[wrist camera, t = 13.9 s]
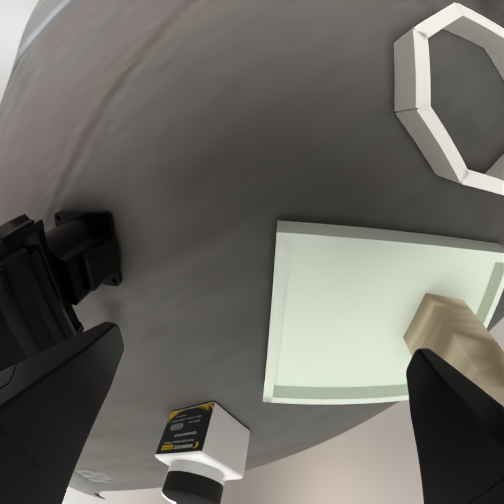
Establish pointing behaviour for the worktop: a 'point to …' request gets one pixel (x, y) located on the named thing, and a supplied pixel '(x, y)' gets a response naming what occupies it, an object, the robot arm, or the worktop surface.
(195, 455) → the medicine bottle
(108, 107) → the worktop surface
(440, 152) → the collar
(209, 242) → the worktop surface
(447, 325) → the dowel block
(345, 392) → the tray
